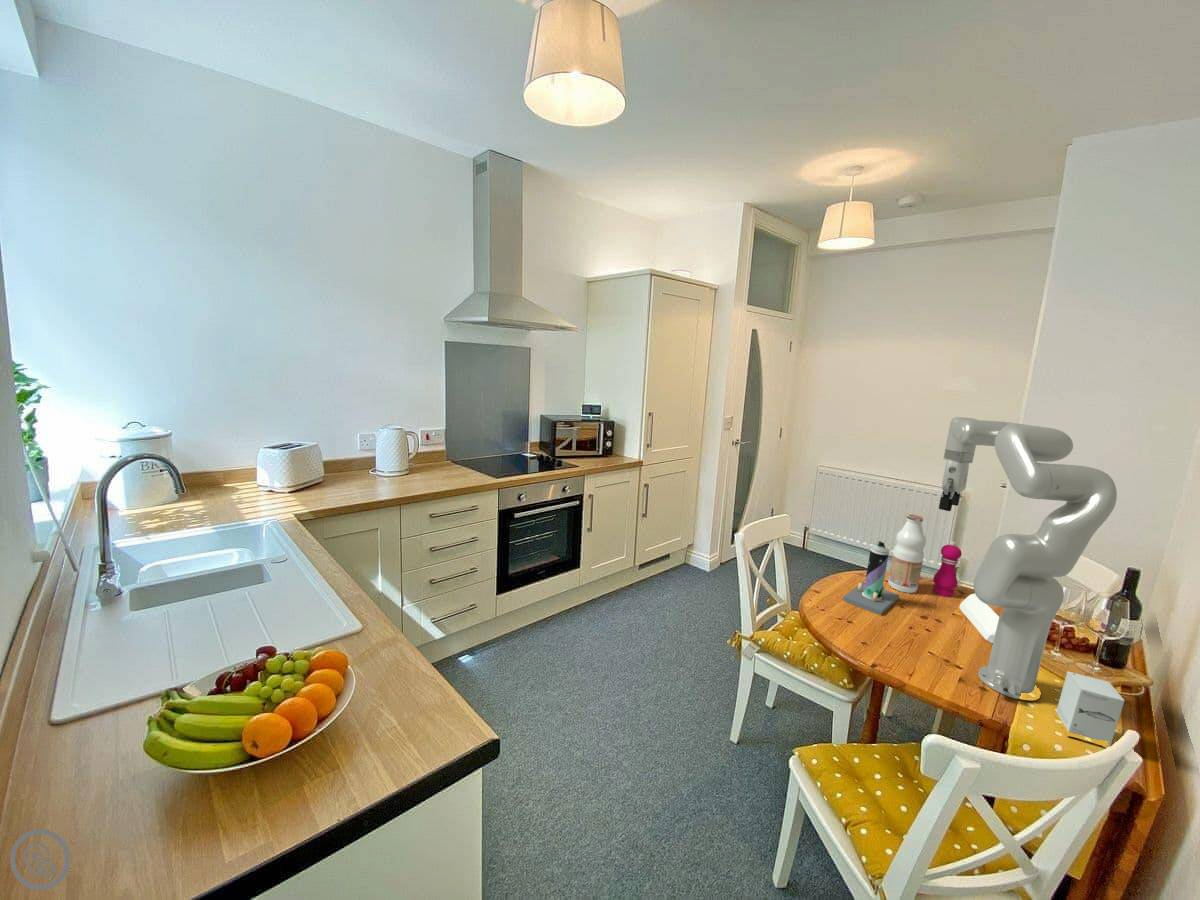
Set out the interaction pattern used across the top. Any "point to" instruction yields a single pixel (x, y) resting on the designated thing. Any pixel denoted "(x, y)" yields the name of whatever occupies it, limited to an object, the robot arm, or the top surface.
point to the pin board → (870, 604)
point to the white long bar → (980, 616)
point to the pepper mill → (947, 571)
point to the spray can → (876, 570)
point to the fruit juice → (908, 556)
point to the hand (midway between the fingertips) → (948, 507)
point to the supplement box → (1089, 707)
